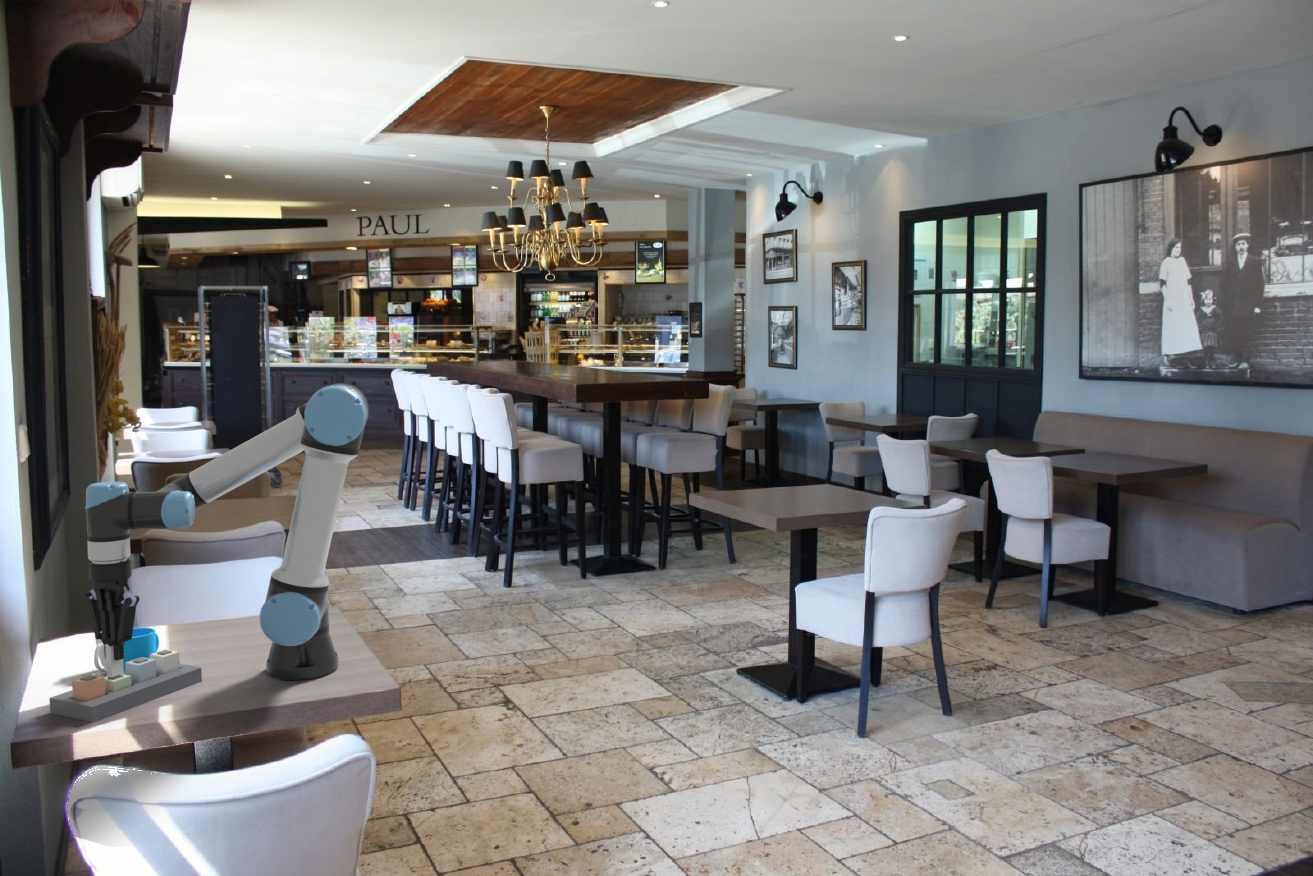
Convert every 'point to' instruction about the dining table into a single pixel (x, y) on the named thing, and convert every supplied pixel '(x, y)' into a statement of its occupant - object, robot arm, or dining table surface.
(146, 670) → the key blue
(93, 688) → the orange hollow cube
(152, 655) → the key ivory
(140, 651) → the mug
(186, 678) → the grey board
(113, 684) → the pale green square block
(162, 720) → the dining table surface
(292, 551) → the robot arm
